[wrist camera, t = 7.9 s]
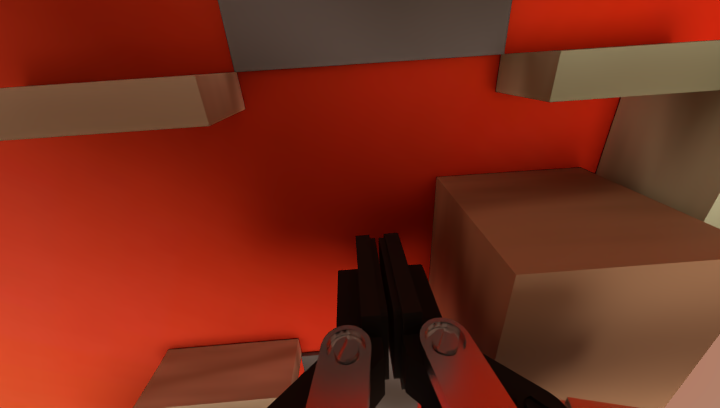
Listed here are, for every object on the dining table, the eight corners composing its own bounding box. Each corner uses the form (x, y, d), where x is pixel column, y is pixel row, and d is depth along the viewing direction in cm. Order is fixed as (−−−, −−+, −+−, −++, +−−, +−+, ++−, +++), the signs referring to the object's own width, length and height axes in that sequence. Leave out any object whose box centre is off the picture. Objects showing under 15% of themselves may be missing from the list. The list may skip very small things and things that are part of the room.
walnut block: (436, 176, 12) (516, 274, 6) (580, 167, 12) (779, 255, 6) (428, 288, 14) (479, 423, 9) (545, 279, 14) (664, 407, 9)
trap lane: (-162, -255, 6) (-835, -678, 3) (801, -299, 7) (1331, -717, 3) (212, 430, 19) (182, 516, 15) (536, 401, 19) (580, 478, 16)
